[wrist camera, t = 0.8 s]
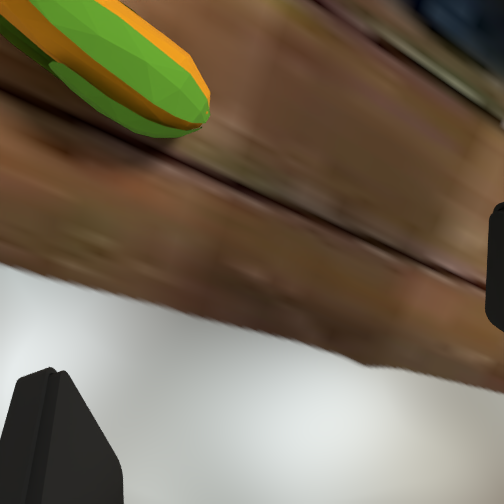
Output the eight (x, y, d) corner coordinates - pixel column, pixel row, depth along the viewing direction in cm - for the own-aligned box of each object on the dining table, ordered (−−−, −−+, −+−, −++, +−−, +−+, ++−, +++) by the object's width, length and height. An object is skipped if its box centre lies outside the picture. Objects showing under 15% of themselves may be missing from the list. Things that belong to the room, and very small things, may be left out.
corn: (187, 172, 31) (-142, -45, 22) (170, 158, 38) (-86, -12, 29) (245, 82, 30) (-71, -180, 21) (217, 84, 37) (-31, -114, 28)
